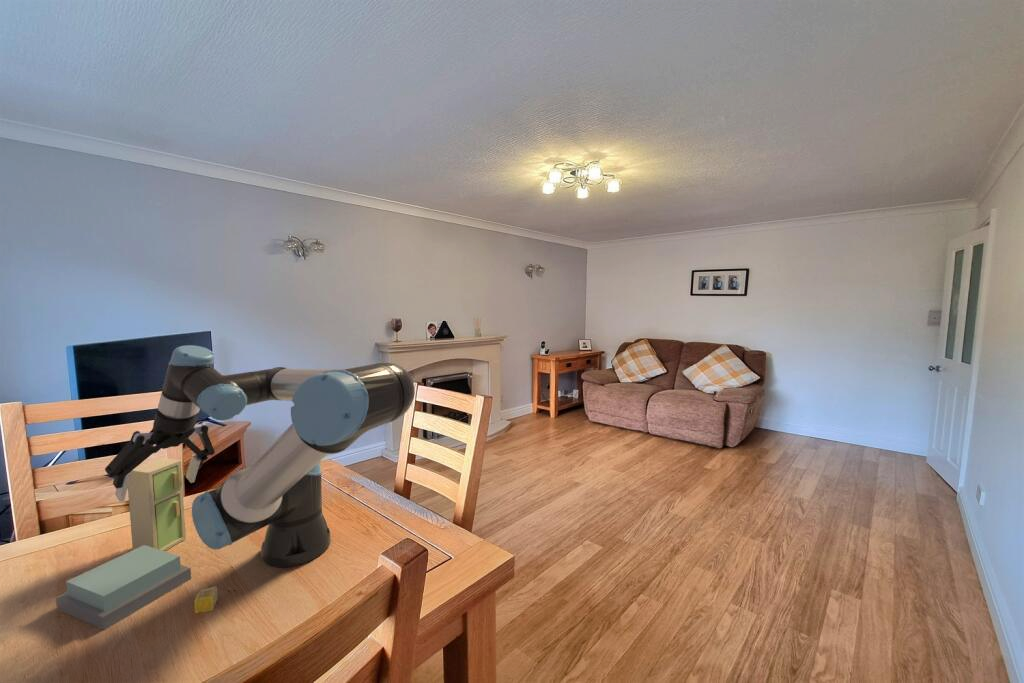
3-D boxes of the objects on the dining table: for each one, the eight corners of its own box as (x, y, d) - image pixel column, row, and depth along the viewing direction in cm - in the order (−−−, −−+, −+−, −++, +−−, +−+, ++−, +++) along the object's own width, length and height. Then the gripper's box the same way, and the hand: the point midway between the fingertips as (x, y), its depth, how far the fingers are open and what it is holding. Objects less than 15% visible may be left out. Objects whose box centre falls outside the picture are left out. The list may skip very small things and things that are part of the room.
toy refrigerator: (155, 558, 96) (149, 472, 94) (131, 554, 98) (125, 469, 96) (189, 539, 104) (184, 459, 102) (166, 535, 105) (160, 457, 104)
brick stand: (191, 578, 89) (189, 554, 89) (104, 629, 75) (101, 601, 75) (146, 563, 94) (144, 541, 94) (57, 609, 80) (54, 582, 79)
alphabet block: (218, 599, 83) (217, 585, 83) (213, 610, 80) (212, 595, 80) (199, 603, 82) (198, 589, 82) (194, 614, 79) (193, 599, 79)
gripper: (228, 396, 105) (207, 465, 109) (97, 410, 83) (77, 496, 87) (243, 410, 102) (221, 481, 106) (112, 429, 80) (91, 517, 84)
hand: (156, 488), depth 97 cm, fingers open, 13 cm apart
